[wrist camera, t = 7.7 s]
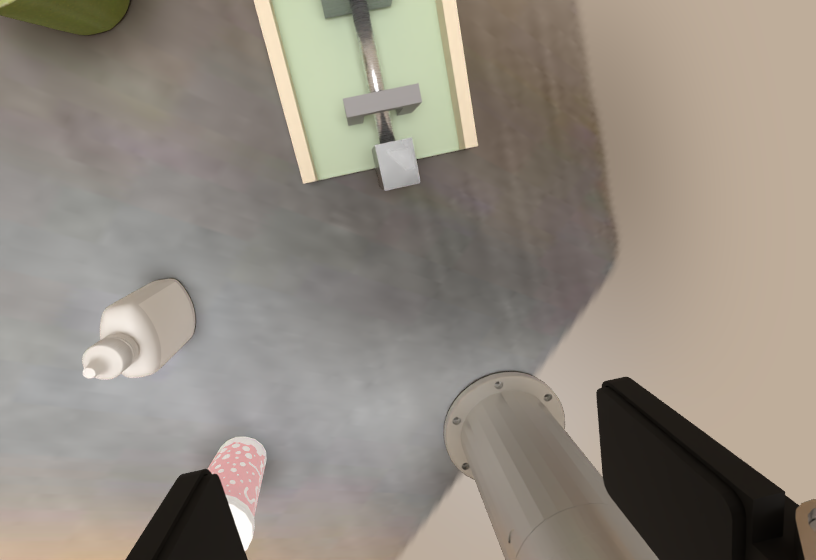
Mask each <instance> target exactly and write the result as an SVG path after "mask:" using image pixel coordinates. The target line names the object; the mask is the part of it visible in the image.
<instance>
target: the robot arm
mask: <svg viewBox="0 0 816 560" xmlns="http://www.w3.org/2000/svg"><path fill="white" fill-rule="evenodd" d="M597 408H598V421H599V434H600V446H601V458H602V459H601V460H602V473H603V477H602V476H601V475H600V474H599V472H598V471H597V470H596V468H595V467H594V466H593V465H592V463H591V462H590V461H589V460H588V458H587V457H586V456H585V455H584V453H583V452H582V451H581V450H580V449H579V447H578V446H577V445H576V444H575V442H574V441H573V440H572V439H571V437H570V436H569V435H568V434H567V432H566V431H565V430H564V429H565V415H564V411H563V407H562V405H561V403H560V400H559V398H558V397H557V396H556V395H555V393H554V392H553V391H552V390H551V389H550V388H549V387H548V386H547V385H546V384H545V383H544V382H543V381H541V380H539V379H538V378H536V377H534V376H531V375H528V374H525V373H519V372H502V373H497V374H492V375H489V376H487V377H484V378H482V379H480V380H478V381H476V382H475V383H473V384H471V385H470V386H469V387H468V388H466V389H465V390H464V391H463V392H462V393H461V394H460V395H459V396H458V397H457V399H456V400H455V401H454V403H453V404H452V406H451V408H450V410H449V411H448V414H447V417H446V420H445V426H444V439H445V444H446V448H447V451H448V454H449V456H450V458H451V460H452V462H453V463H454V464H455V466H456V467H457V468H458V469H459V470H460V471H461V472H462V473H464V474H465V475H466V476H468V477H470V478H472V479H474V480H475V482H476V484H477V487H478V489H479V492H480V495H481V497H482V500H483V502H484V505H485V508H486V510H487V513H488V515H489V518H490V520H491V523H492V526H493V528H494V531H495V533H496V536H497V539H498V541H499V544H500V547H501V549H502V552H503V554H504V557H505V560H816V499H812V500H809V501H806V502H804V503H801V505H800V506H799V505H798V504H796V503H795V502H794V501H792V500H791V499H790V498H788V497H787V496H786V495H785V491H783V490H782V489H781V488H779V487H778V486H777V485H775V484H774V483H772V482H771V481H770V480H768V479H767V478H766V477H764V476H763V475H762V474H760V473H759V472H757V471H756V470H755V469H753V468H752V467H751V466H749V465H748V464H747V463H745V462H744V461H742V460H741V459H739V458H738V457H737V456H736V455H734V454H733V453H732V452H730V451H729V450H727V449H726V448H725V447H723V446H722V445H721V444H719V443H718V442H717V441H715V440H714V439H713V438H711V437H710V436H708V435H707V434H706V433H704V432H703V431H702V430H700V429H699V428H698V427H696V426H695V425H694V424H692V423H691V422H689V421H688V420H687V419H685V418H684V417H683V416H681V415H680V414H678V413H677V412H676V411H674V410H673V409H672V408H670V407H669V406H668V405H666V404H665V403H664V402H662V401H661V400H659V399H658V398H657V397H655V396H654V395H653V394H651V393H650V392H649V391H647V390H646V389H644V388H643V387H642V386H640V385H639V384H638V383H636V382H635V381H634V380H632V379H631V378H629V377H622V378H618V379H613V380H608V381H605V382H603V384H602V388H600V389H598V390H597ZM126 560H248V559H247V556H246V553H245V551H244V548H243V545H242V542H241V539H240V536H239V533H238V530H237V527H236V524H235V521H234V518H233V515H232V512H231V510H230V507H229V504H228V501H227V498H226V495H225V492H224V489H223V486H222V483H221V480H220V478H219V476H218V475H217V474H212V473H211V472H210V471H209V470H208V469H203V470H199V471H194V472H190V473H185V474H182V475H180V476H179V477H178V478H177V480H176V481H175V483H174V485H173V486H172V488H171V489H170V491H169V492H168V494H167V495H166V497H165V499H164V500H163V502H162V503H161V505H160V506H159V508H158V510H157V511H156V513H155V514H154V516H153V517H152V519H151V521H150V522H149V524H148V525H147V527H146V528H145V530H144V532H143V533H142V535H141V536H140V538H139V539H138V541H137V542H136V544H135V546H134V547H133V549H132V550H131V552H130V553H129V555H128V557H127V558H126Z"/></svg>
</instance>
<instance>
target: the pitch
mask: <svg viewBox="0 0 816 560" xmlns="http://www.w3.org/2000/svg"><path fill="white" fill-rule="evenodd" d="M254 3H255V7H256V10H257V14H258V18H259V22H260V25H261V29H262V33H263V36H264V40H265V44H266V47H267V51H268V55H269V59H270V62H271V66H272V70H273V73H274V77H275V81H276V84H277V88H278V92H279V96H280V99H281V103H282V107H283V110H284V114H285V118H286V121H287V125H288V129H289V132H290V136H291V140H292V144H293V147H294V151H295V155H296V158H297V162H298V166H299V169H300V173H301V177H302V181H303V184H304V183H309V182H313V181H318V180H322V179H327V178H331V177H336V176H341V175H345V174H350V173H355V172H359V171H364V170H369V169H373V168H375V163H374V159H373V154H372V148H373V147H374V146H375V145H378V144H380V142H379V137H378V132H377V128H376V123H375V118H374V114H376V113H380V112H385V111H389V112H390V117H391V121H392V126H393V131H394V136H395V141H397V140H401V139H406V138H411V137H412V140H413V146H414V151H415V156H416V159H420V158H424V157H429V156H434V155H438V154H443V153H448V152H452V151H457V150H462V149H467V148H471V147H476V146H478V143H477V137H476V130H475V123H474V117H473V110H472V104H471V97H470V90H469V84H468V77H467V71H466V64H465V57H464V51H463V44H462V38H461V31H460V25H459V18H458V11H457V5H456V0H392V4H391V6H389V7H384V8H378V9H373V10H369V14H370V19H371V23H372V28H373V33H374V38H375V43H376V48H377V53H378V58H379V63H380V68H381V72H382V77H383V82H384V87H385V90H383V91H378V92H373V93H369V90H368V86H367V81H366V76H365V72H364V67H363V62H362V58H361V53H360V48H359V44H358V39H357V34H356V30H355V25H354V20H353V16H352V14H347V15H342V16H337V17H331V18H326V19H325V16H324V12H323V8H322V3H321V0H254Z"/></svg>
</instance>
